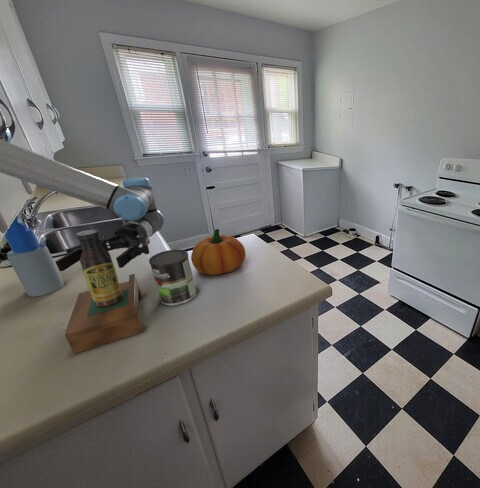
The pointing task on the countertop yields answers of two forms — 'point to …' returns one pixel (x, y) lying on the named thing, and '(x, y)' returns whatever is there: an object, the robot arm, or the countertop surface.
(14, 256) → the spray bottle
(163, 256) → the large food can
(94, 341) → the brown wooden box
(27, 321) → the countertop surface
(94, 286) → the sauce bottle
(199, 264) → the pumpkin
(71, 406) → the countertop surface
